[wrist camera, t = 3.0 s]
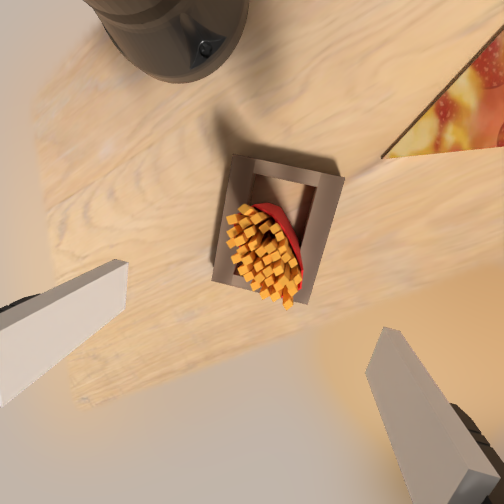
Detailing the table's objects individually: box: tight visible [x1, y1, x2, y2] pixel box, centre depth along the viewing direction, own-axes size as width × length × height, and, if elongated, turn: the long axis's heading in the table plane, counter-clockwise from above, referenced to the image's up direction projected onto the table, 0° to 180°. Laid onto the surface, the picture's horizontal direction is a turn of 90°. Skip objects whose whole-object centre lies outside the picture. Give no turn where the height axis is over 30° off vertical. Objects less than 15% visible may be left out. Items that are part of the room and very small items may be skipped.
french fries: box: [226, 203, 304, 310], centre depth 27 cm, size 9×4×13 cm, turn 29°
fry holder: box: [212, 154, 345, 305], centre depth 32 cm, size 12×15×2 cm
